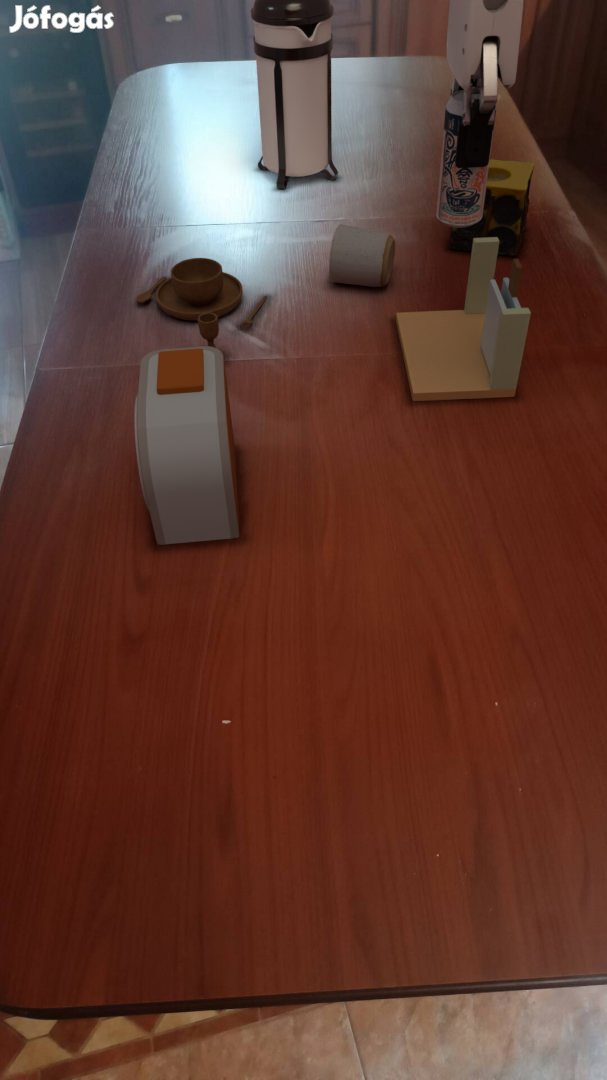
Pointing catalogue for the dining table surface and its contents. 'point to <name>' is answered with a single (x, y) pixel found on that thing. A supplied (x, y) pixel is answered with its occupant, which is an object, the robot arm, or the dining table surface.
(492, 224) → the yellow cube with holes
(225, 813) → the dining table surface
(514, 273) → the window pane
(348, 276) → the grey cylinder
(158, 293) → the place setting
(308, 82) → the coffee press
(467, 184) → the beer can
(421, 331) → the bookend with square base
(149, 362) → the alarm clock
